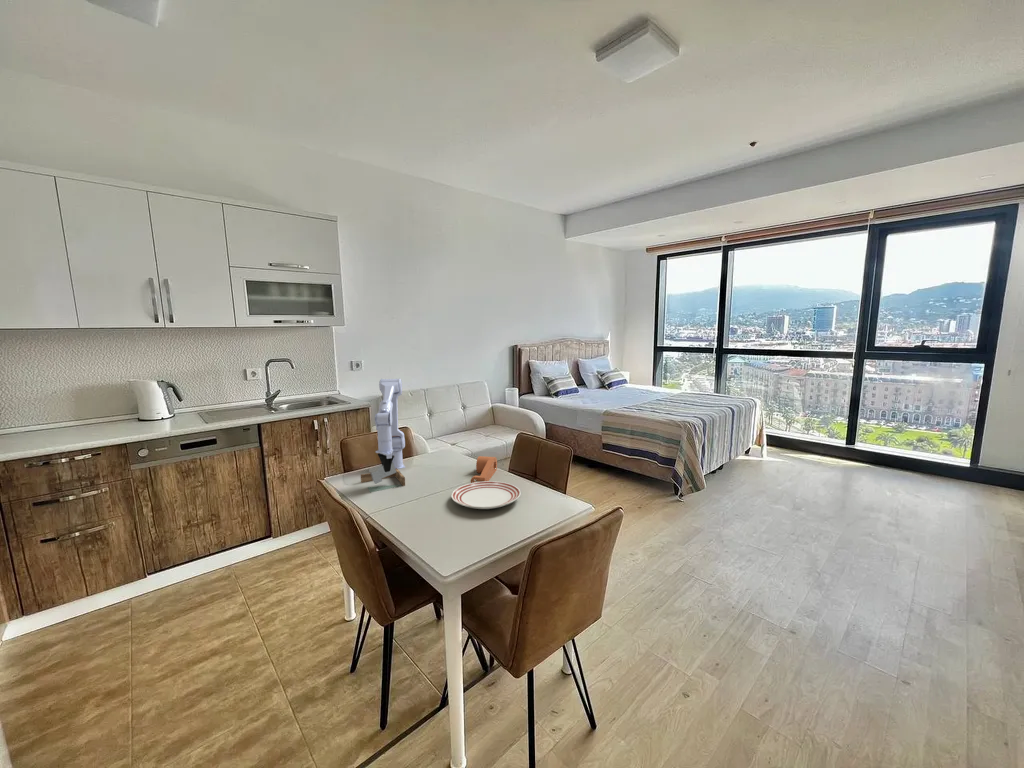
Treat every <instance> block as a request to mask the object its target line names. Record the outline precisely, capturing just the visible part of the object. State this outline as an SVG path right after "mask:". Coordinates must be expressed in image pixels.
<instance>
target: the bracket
mask: <svg viewBox="0 0 1024 768" xmlns="http://www.w3.org/2000/svg"><path fill="white" fill-rule="evenodd" d="M368 471H369V473H370V474H371V477H372V480H373V481H372V482H373V484H374V485H375V484H379V483H381V482H383V479H382V478H384V477H387V476H389V475H392V474H394V473H396V470H395V466H394V463H393V461H392V464H391V469H390V471H389V472H385V471H384V466H383V464H381V463H380V464H379V465H377V466H374V467H371V468H369V469H368Z"/></svg>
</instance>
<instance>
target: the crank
mask: <svg viewBox="0 0 1024 768" xmlns="http://www.w3.org/2000/svg"><path fill="white" fill-rule="evenodd" d="M497 459H498V458H497V457H496V456H483V455H482V456H480V455H479V456H478V457H477V459H476V464H475V465H476V466H475V468H476V469H475V471H476V473H477V474H479V475H474V476H472V477H471V478H470V482H469V483H474V482H482V481H491V478H492V477H493V476H494V474H495V473H496V472H497V470H498V460H497ZM495 468H496V469H495Z"/></svg>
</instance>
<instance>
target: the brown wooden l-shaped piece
mask: <svg viewBox="0 0 1024 768" xmlns="http://www.w3.org/2000/svg"><path fill="white" fill-rule="evenodd" d="M395 470H396V473H394V474H392V475H389V476H387V477H384V478H382V480H384V479H385V480H386V479H391V478H394V477H396V479H397V480H398V482H399V483H400V485H401V487H405V486H406V478H405V476H404V475H403V473H401V471H400V469H397V468H395ZM368 482H373V480H372V477H371V474H370V472H369V473H363V474H360V483H361V484H363V483H368Z"/></svg>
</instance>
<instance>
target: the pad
mask: <svg viewBox="0 0 1024 768" xmlns="http://www.w3.org/2000/svg"><path fill="white" fill-rule="evenodd" d="M399 487H402V484H393V485H392V484H389V485H375V486H367V489H368V491H369V492H370V493H374V492H379V491H385V490H388V489H394V488H399Z"/></svg>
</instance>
